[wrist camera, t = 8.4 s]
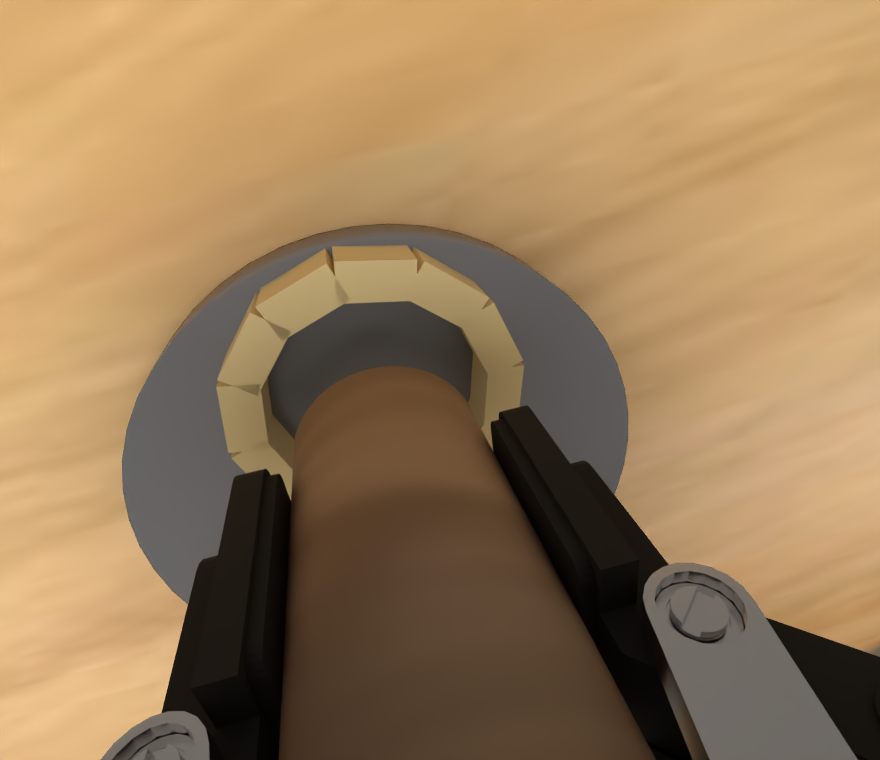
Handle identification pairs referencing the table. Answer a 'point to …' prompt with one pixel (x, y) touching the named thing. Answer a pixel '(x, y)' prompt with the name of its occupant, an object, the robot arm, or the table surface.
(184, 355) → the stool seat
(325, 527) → the walnut leg
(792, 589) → the table surface
